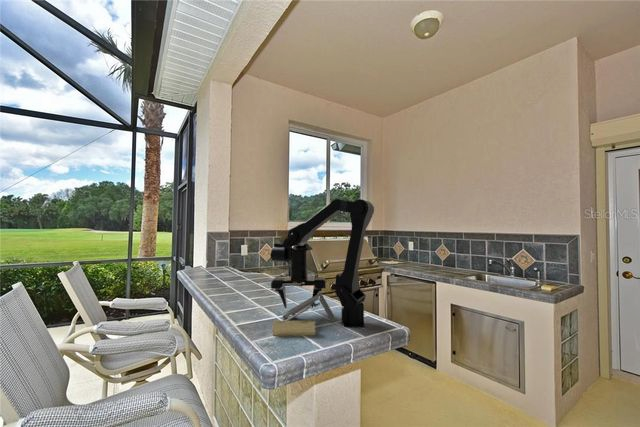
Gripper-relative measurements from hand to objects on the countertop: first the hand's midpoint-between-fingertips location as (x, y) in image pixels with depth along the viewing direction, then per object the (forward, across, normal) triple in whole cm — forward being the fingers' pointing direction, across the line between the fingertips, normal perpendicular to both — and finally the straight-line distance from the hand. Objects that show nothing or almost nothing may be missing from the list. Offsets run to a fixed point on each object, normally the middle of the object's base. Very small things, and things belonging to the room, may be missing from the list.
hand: (298, 307), depth 99 cm
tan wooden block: (+2, 0, +17) cm, 17 cm away
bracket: (+3, -4, +8) cm, 9 cm away
